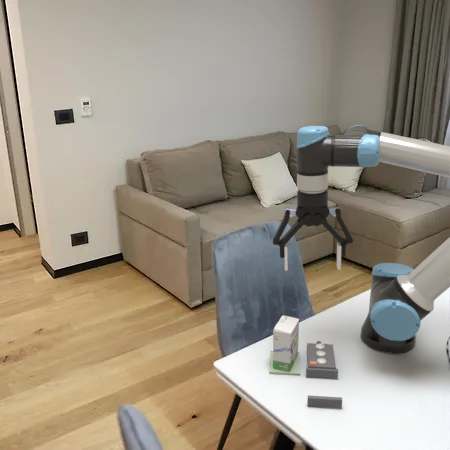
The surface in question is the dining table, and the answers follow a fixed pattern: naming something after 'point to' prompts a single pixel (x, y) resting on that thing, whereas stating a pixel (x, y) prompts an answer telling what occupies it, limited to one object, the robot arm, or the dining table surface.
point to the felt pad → (294, 371)
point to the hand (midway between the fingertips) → (312, 268)
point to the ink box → (285, 343)
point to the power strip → (322, 373)
